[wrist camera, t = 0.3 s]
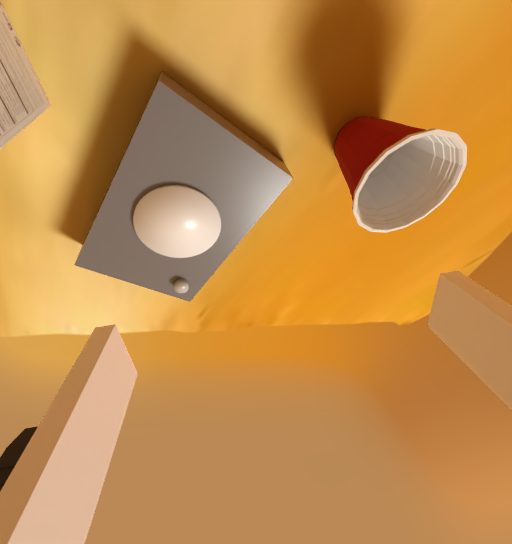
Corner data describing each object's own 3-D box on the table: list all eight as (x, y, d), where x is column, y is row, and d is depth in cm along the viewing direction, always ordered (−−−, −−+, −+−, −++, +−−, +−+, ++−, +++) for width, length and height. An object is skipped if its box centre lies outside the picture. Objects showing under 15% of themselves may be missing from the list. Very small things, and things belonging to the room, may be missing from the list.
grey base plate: (161, 71, 27) (158, 83, 23) (284, 163, 35) (295, 182, 32) (82, 245, 38) (72, 270, 35) (189, 283, 47) (189, 306, 43)
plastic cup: (323, 196, 40) (360, 251, 31) (304, 119, 32) (346, 165, 24) (400, 162, 38) (461, 211, 30) (399, 73, 30) (481, 104, 22)
